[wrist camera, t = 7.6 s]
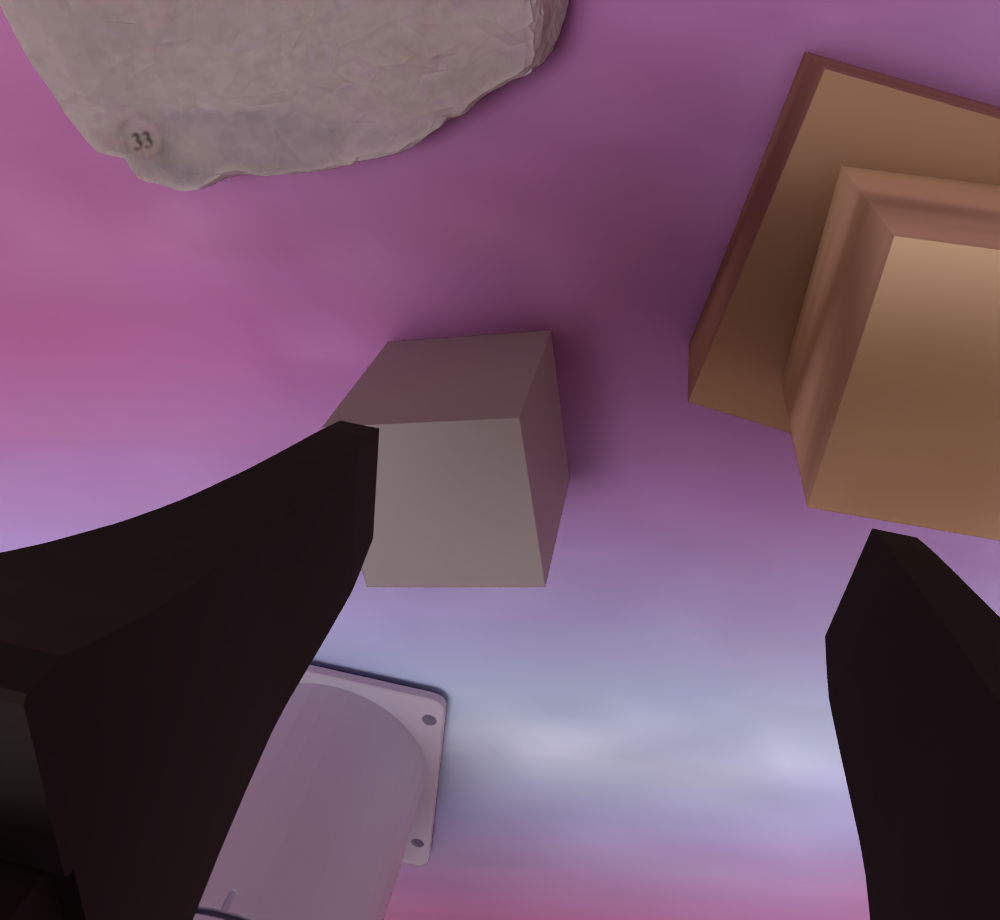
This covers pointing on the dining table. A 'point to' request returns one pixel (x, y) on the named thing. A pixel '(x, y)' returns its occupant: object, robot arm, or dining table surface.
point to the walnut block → (818, 215)
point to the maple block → (902, 355)
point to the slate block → (463, 460)
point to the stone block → (273, 76)
